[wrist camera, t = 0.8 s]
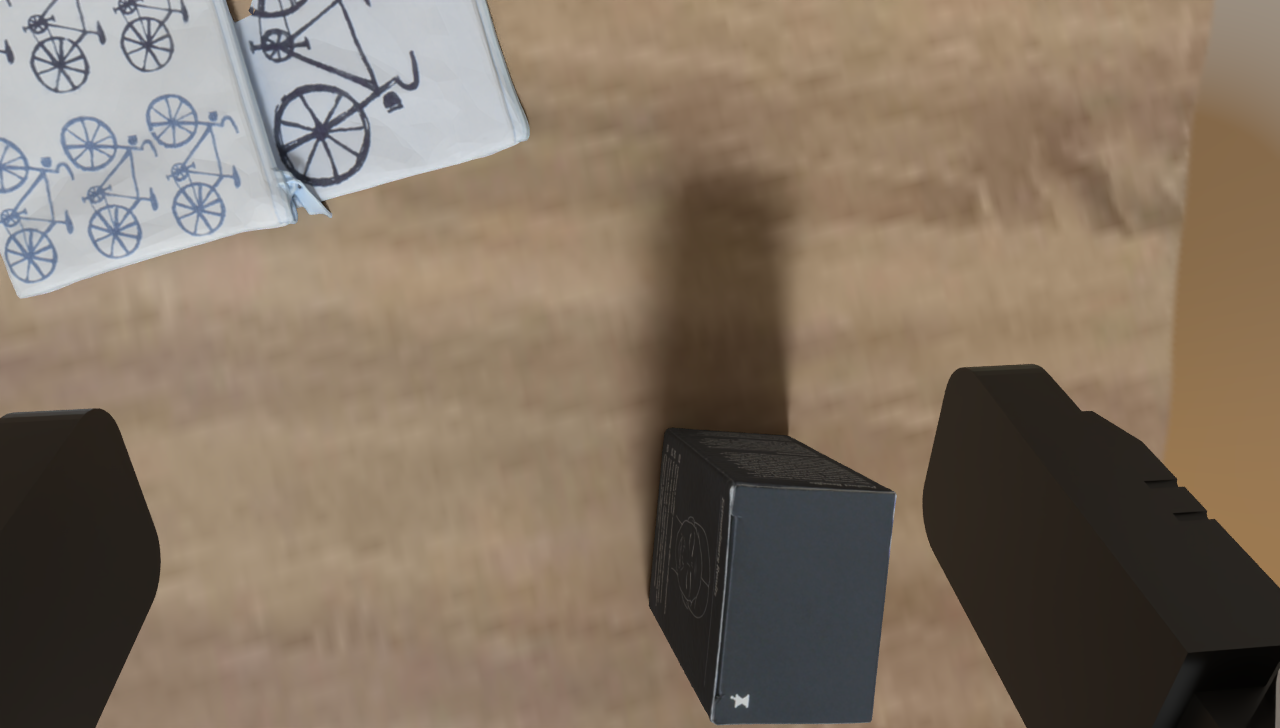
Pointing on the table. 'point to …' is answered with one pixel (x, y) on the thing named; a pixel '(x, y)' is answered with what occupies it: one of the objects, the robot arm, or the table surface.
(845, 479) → the box
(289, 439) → the table surface
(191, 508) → the table surface
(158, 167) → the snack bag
